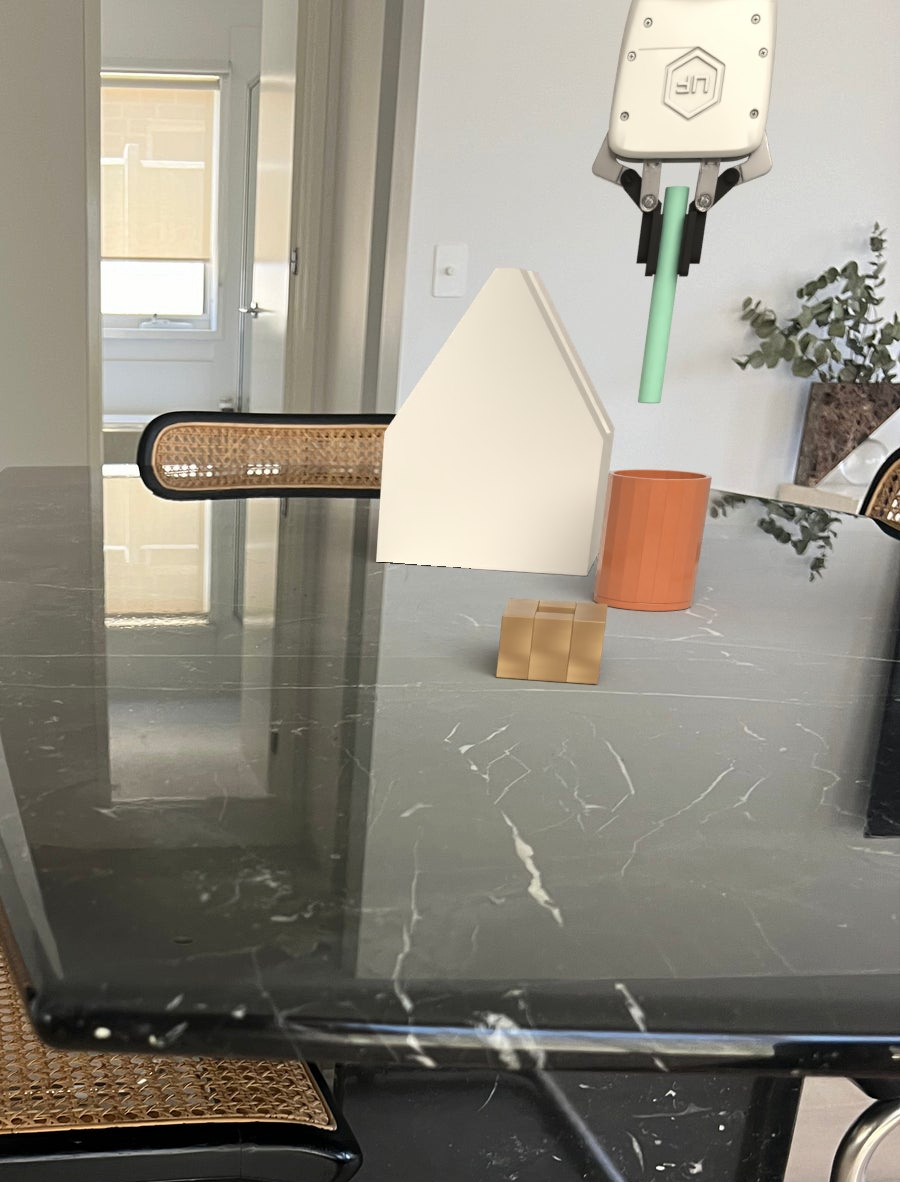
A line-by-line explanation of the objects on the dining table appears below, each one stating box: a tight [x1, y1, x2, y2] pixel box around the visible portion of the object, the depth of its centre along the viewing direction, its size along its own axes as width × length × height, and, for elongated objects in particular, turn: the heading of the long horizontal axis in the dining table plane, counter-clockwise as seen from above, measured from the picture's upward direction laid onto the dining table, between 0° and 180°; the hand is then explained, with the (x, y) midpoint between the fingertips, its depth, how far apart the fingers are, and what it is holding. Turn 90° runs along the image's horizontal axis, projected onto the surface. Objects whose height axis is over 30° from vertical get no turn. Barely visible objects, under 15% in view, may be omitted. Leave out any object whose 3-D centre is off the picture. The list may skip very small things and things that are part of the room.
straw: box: [637, 185, 690, 404], centre depth 104 cm, size 2×2×14 cm
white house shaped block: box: [375, 267, 616, 577], centre depth 136 cm, size 19×15×25 cm
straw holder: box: [495, 597, 608, 685], centre depth 96 cm, size 6×6×4 cm
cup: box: [592, 468, 713, 612], centre depth 118 cm, size 8×8×10 cm
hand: (666, 274), depth 104 cm, fingers closed on straw, 1 cm apart
